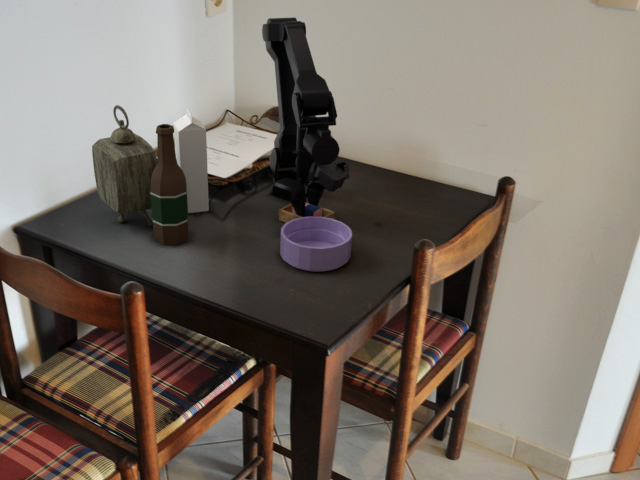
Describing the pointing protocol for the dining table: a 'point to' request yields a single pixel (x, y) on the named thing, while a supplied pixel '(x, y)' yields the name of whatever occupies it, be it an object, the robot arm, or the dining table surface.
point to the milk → (193, 160)
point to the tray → (287, 215)
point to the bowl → (315, 243)
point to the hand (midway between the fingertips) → (306, 215)
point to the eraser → (311, 210)
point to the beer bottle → (168, 192)
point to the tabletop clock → (124, 170)
